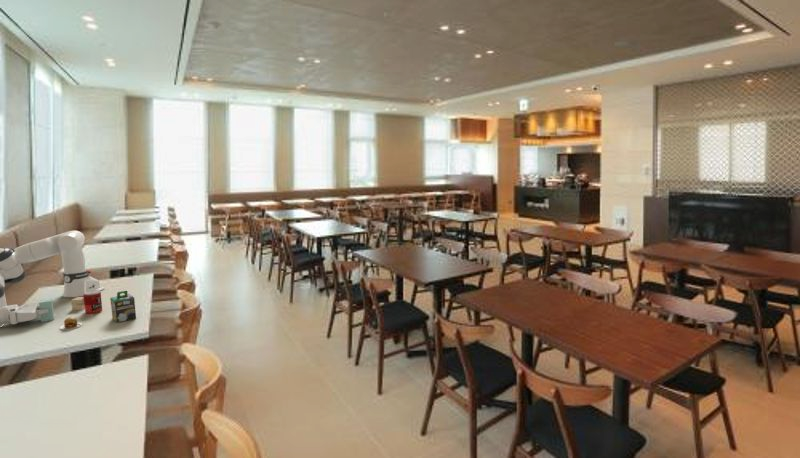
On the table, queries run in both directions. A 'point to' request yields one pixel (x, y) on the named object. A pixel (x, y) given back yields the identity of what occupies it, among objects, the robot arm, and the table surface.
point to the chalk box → (123, 307)
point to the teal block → (44, 305)
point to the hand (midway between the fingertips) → (48, 308)
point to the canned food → (92, 301)
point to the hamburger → (70, 323)
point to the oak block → (78, 303)
